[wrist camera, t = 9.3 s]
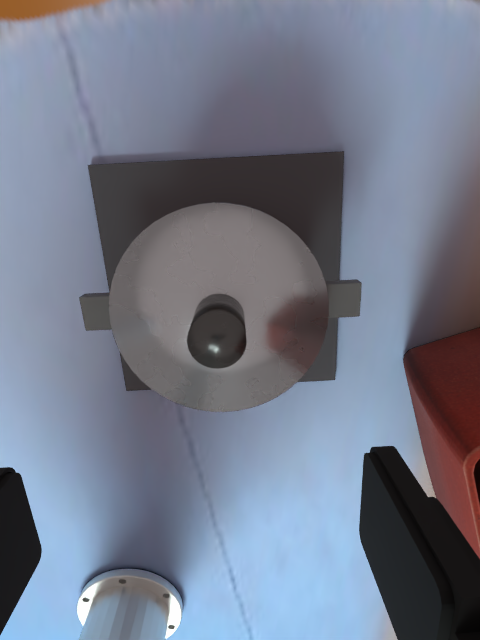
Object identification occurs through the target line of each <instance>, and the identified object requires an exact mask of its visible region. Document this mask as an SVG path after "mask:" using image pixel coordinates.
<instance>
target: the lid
mask: <svg viewBox="0 0 480 640" xmlns="http://www.w3.org/2000/svg"><path fill="white" fill-rule="evenodd" d="M109 315H110V324H111V328H112V332H113V336H114V339H115V341H116V344H117V347H118V349H119V351H120V353H121V354H122V356H123V358H124V360H125V361H126V363H127V364H128V366H129V367H130V368H131V370H132V371H133V372H134V373H135V374H136V375H137V376H138V378H139V379H140V380H141V381H142V382H144V383H145V384H146V385H147V386H148V387H149V388H151V389H152V390H153V391H155V392H156V393H158V394H160V395H161V396H163V397H165V398H167V399H169V400H170V401H172V402H175V403H177V404H180V405H183V406H185V407H189V408H193V409H197V410H203V411H211V412H229V411H239V410H243V409H248V408H252V407H255V406H258V405H261V404H264V403H266V402H268V401H270V400H272V399H274V398H276V397H278V396H279V395H281V394H282V393H284V392H286V391H287V390H288V389H289V388H291V387H292V386H293V385H294V384H295V383H297V382H298V380H299V379H300V378H301V377H302V376H303V375H304V374H305V373H306V372H307V370H308V369H309V368H310V366H311V365H312V364H313V362H314V360H315V358H316V357H317V355H318V353H319V351H320V349H321V346H322V344H323V341H324V338H325V334H326V330H327V326H328V317H329V299H328V293H327V287H326V283H325V280H324V277H323V274H322V271H321V269H320V267H319V265H318V263H317V260H316V259H315V257H314V256H313V254H312V253H311V251H310V249H309V248H308V247H307V245H306V244H305V243H304V242H303V241H302V240H301V239H300V237H299V236H298V235H297V234H295V233H294V232H293V231H292V230H291V229H290V228H288V227H287V226H286V225H285V224H283V223H281V222H280V221H278V220H277V219H275V218H274V217H272V216H270V215H268V214H266V213H264V212H262V211H260V210H257V209H254V208H251V207H247V206H244V205H238V204H232V203H215V202H213V203H204V204H197V205H193V206H189V207H185V208H182V209H180V210H177V211H175V212H172V213H170V214H167V215H166V216H164V217H162V218H160V219H159V220H157V221H155V222H154V223H152V224H151V225H150V226H149V227H147V228H146V229H145V230H143V231H142V232H141V233H140V234H139V235H138V236H137V237H136V239H135V240H134V241H133V242H132V243H131V244H130V246H129V247H128V248H127V250H126V251H125V253H124V254H123V256H122V258H121V260H120V262H119V264H118V266H117V268H116V271H115V274H114V277H113V280H112V284H111V289H110V294H109Z"/></svg>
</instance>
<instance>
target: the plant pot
mask: <svg viewBox="0 0 480 640" xmlns="http://www.w3.org/2000/svg"><path fill="white" fill-rule="evenodd" d="M403 363H404V368H405V372H406V377H407V381H408V386H409V390H410V394H411V399H412V403H413V408H414V412H415V417H416V421H417V425H418V430H419V434H420V439H421V443H422V448H423V452H424V456H425V460H426V464H427V468H428V472H429V475H430V478H431V482H432V485H433V489H434V492H435V495H436V499H438V500H439V501H440V503H441V504H442V505H443V506H444V508H445V509H446V511H447V512H448V514H449V515H450V517H451V518H452V520H453V521H454V522H455V524H456V525H457V527H458V528H459V530H460V531H461V533H462V534H463V535H464V537H465V538H466V540H467V541H468V543H469V544H470V546H471V547H472V548H473V550H474V551H475V553H476V554H477V556H478V557H479V559H480V328H476V329H473V330H470V331H467V332H464V333H461V334H457V335H454V336H451V337H448V338H445V339H441V340H438V341H435V342H431V343H428V344H425V345H422V346H419V347H415V348H412V349H410V350H409V351H408V352H407V353H406V354H405V355H404V358H403Z"/></svg>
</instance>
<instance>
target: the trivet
mask: <svg viewBox="0 0 480 640" xmlns="http://www.w3.org/2000/svg"><path fill="white" fill-rule="evenodd" d="M343 163H344V151H342V152H324V153H305V154H286V155H268V156H249V157H230V158H212V159H193V160H174V161H155V162H137V163H118V164H99V165H88V169H89V175H90V180H91V186H92V192H93V198H94V204H95V210H96V215H97V221H98V227H99V233H100V239H101V245H102V251H103V256H104V262H105V268H106V274H107V280H108V286H109V291H110V289H111V284H112V280H113V277H114V274H115V271H116V268H117V266H118V264H119V262H120V260H121V258H122V256H123V254H124V253H125V251H126V250H127V248H128V247H129V246H130V244H131V243H132V242H133V241H134V240H135V239H136V237H137V236H138V235H139V234H140V233H141V232H142V231H143V230H145V229H146V228H147V227H149V226H150V225H151V224H152V223H154V222H155V221H157V220H159V219H160V218H162V217H164V216H166V215H167V214H170V213H172V212H175V211H177V210H180V209H182V208H185V207H189V206H193V205H197V204H204V203H213V202H215V203H232V204H238V205H244V206H247V207H251V208H254V209H257V210H260V211H262V212H264V213H266V214H268V215H270V216H272V217H274V218H275V219H277V220H278V221H280V222H281V223H283V224H285V225H286V226H287V227H288V228H290V229H291V230H292V231H293V232H294V233H295V234H297V235H298V236H299V237H300V239H301V240H302V241H303V242H304V243H305V244H306V245H307V247H308V248H309V249H310V251H311V253H312V254H313V256H314V257H315V259H316V260H317V263H318V265H319V267H320V269H321V271H322V274H323V277H324V280H325V281H339V268H340V241H341V215H342V189H343ZM337 320H338V317H337V318H328V326H327V330H326V334H325V338H324V341H323V344H322V346H321V349H320V351H319V353H318V355H317V357H316V358H315V360H314V362H313V364H312V365H311V366H310V368H309V369H308V370H307V372H306V373H305V374H304V375H303V376H302V377H301V378H300V379H299V380H298V382H306V381H325V380H335V372H336V346H337ZM120 356H121V362H122V367H123V373H124V379H125V385H126V391H132V390H152V389H151V388H149V387H148V386H147V385H146V384H145V383H144V382H142V381H141V380H140V379H139V378H138V376H137V375H136V374H135V373H134V372H133V371H132V370H131V368H130V367H129V366H128V364H127V363H126V361H125V360H124V358H123V356H122V354H121V353H120Z"/></svg>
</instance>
